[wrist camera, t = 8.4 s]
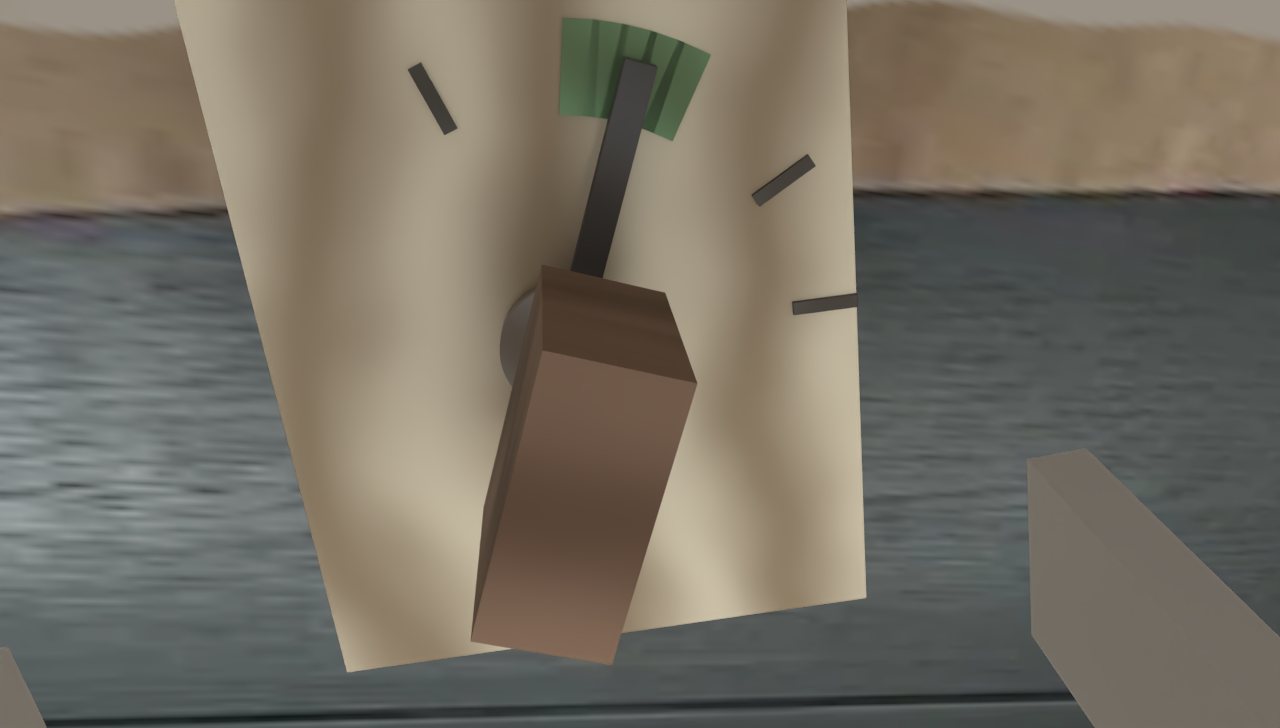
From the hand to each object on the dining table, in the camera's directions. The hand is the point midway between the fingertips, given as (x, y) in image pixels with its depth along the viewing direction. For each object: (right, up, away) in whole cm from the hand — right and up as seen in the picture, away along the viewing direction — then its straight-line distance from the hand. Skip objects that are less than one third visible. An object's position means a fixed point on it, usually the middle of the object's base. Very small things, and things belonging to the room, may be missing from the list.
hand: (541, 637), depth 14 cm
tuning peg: (0, +6, +18) cm, 19 cm away
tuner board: (-1, +5, +21) cm, 21 cm away
